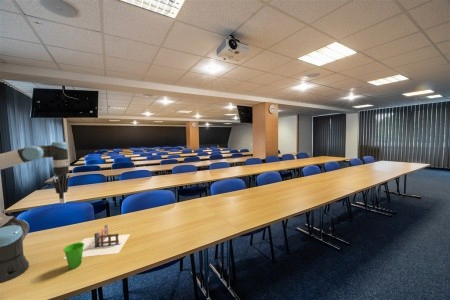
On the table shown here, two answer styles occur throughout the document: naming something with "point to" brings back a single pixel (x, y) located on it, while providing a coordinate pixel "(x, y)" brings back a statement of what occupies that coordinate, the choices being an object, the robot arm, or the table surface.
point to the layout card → (91, 250)
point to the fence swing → (103, 232)
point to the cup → (74, 254)
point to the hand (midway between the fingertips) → (62, 202)
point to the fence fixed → (105, 241)
